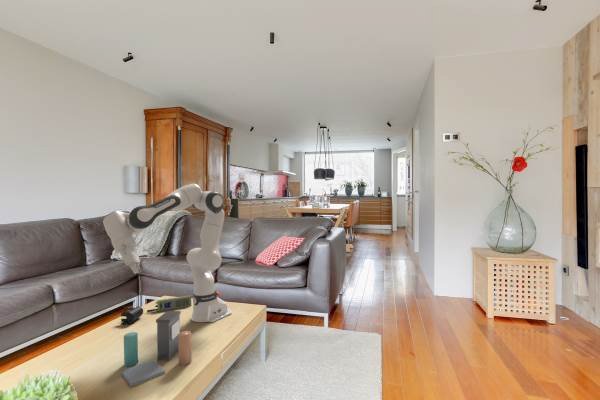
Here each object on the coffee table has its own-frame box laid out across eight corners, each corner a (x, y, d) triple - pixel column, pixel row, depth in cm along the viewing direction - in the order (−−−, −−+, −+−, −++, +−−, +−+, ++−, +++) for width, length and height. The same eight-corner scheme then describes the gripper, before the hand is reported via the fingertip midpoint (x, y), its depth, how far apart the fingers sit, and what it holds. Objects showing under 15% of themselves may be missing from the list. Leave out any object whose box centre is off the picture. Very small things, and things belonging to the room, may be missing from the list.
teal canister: (135, 359, 131) (135, 331, 131) (139, 363, 127) (139, 334, 127) (122, 363, 127) (122, 334, 127) (126, 368, 124) (125, 338, 124)
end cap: (133, 324, 166) (133, 312, 166) (120, 324, 167) (120, 312, 167) (143, 317, 176) (143, 305, 176) (131, 317, 177) (131, 305, 177)
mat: (153, 361, 129) (153, 359, 129) (165, 373, 120) (165, 370, 120) (121, 373, 120) (121, 371, 120) (131, 386, 112) (131, 384, 112)
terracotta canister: (188, 357, 132) (187, 329, 131) (193, 362, 128) (193, 333, 128) (176, 362, 128) (176, 333, 128) (181, 366, 124) (181, 337, 124)
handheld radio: (191, 306, 194) (147, 314, 182) (190, 305, 197) (147, 312, 185) (191, 295, 194) (147, 302, 182) (190, 294, 197) (146, 301, 185)
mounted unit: (168, 348, 140) (167, 310, 139) (181, 349, 139) (180, 311, 139) (156, 360, 130) (155, 319, 129) (170, 360, 129) (170, 319, 129)
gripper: (128, 240, 132) (142, 269, 132) (135, 243, 151) (147, 269, 151) (113, 247, 130) (126, 277, 130) (121, 249, 149) (134, 275, 148)
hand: (138, 273), depth 140 cm, fingers open, 8 cm apart
